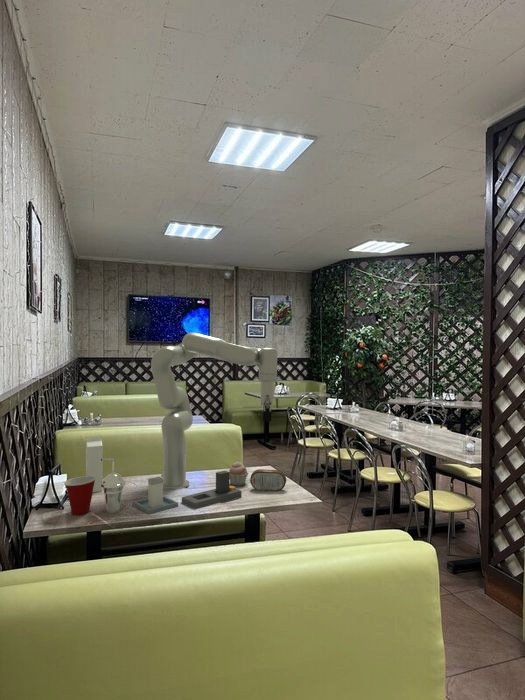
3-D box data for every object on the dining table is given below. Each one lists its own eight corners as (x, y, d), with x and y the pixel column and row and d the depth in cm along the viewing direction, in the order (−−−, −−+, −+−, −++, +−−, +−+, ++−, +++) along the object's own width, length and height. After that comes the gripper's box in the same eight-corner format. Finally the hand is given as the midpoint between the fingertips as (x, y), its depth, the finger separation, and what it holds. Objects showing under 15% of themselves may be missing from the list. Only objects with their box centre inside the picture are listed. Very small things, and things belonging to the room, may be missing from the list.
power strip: (181, 503, 171) (181, 495, 171) (227, 491, 185) (227, 483, 185) (194, 510, 164) (195, 501, 164) (241, 497, 179) (241, 488, 179)
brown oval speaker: (286, 489, 189) (286, 469, 189) (285, 492, 186) (286, 471, 186) (250, 488, 190) (250, 468, 190) (249, 490, 187) (249, 470, 187)
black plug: (215, 497, 178) (215, 472, 178) (224, 495, 181) (224, 470, 181) (220, 499, 175) (220, 474, 175) (229, 497, 178) (229, 472, 178)
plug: (148, 505, 167) (148, 478, 167) (158, 503, 170) (159, 476, 170) (152, 508, 164) (152, 480, 164) (163, 505, 167) (163, 478, 167)
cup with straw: (128, 512, 161) (128, 457, 161) (102, 517, 156) (102, 460, 156) (121, 505, 168) (122, 452, 168) (96, 510, 163) (96, 455, 163)
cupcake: (252, 482, 198) (252, 460, 198) (241, 488, 190) (241, 464, 190) (234, 479, 203) (234, 457, 203) (222, 485, 194) (223, 462, 194)
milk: (85, 489, 188) (85, 436, 188) (101, 487, 191) (100, 435, 191) (87, 493, 183) (87, 439, 183) (102, 491, 185) (102, 437, 186)
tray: (133, 506, 167) (133, 501, 167) (161, 499, 176) (161, 494, 176) (148, 515, 159) (148, 510, 159) (178, 507, 167) (178, 502, 167)
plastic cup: (73, 506, 167) (73, 474, 167) (101, 507, 166) (101, 475, 166) (57, 517, 156) (57, 482, 156) (86, 518, 155) (86, 483, 155)
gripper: (259, 376, 194) (258, 416, 194) (258, 379, 177) (257, 422, 177) (276, 376, 194) (276, 416, 194) (277, 379, 176) (276, 423, 176)
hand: (267, 419), depth 185 cm, fingers open, 9 cm apart
